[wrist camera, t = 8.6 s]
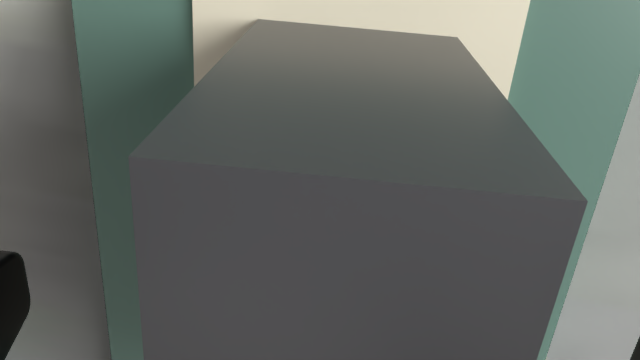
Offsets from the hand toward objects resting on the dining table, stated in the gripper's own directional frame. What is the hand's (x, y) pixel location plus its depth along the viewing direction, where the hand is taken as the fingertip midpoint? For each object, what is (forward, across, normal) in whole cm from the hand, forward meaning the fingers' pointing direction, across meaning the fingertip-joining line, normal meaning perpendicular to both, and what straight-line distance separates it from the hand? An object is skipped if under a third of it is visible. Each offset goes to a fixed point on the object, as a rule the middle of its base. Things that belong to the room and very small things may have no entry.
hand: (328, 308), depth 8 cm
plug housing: (+3, 0, 0) cm, 3 cm away
